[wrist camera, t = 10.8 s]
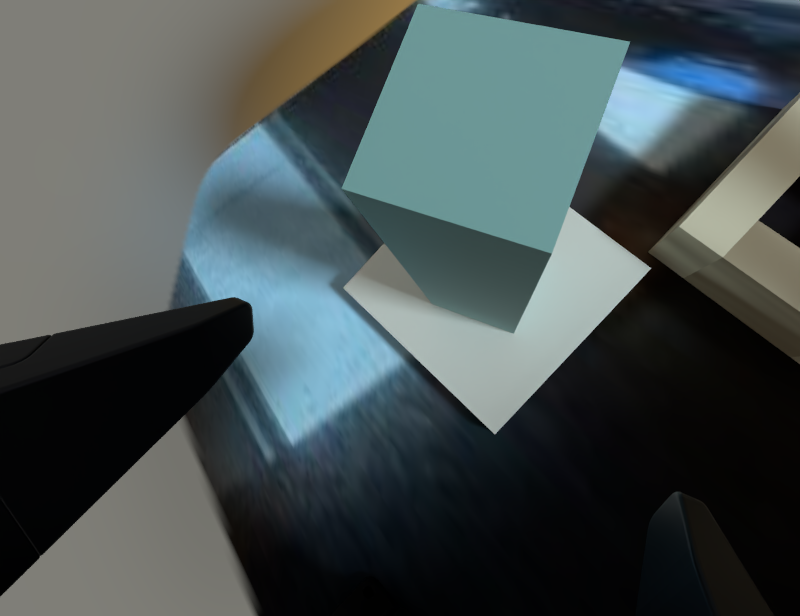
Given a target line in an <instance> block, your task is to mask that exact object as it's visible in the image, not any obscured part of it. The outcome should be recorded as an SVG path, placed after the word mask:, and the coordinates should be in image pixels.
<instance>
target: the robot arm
mask: <svg viewBox="0 0 800 616" xmlns="http://www.w3.org/2000/svg"><path fill="white" fill-rule="evenodd" d="M253 333H254V327H253V313H252V307H251V305H250V304H249V303H248V302H246V301H243V300H241V299H239V298H235V297H232V298H227V299H222V300H217V301H212V302H208V303H203V304H198V305H193V306H188V307H183V308H178V309H173V310H169V311H164V312H159V313H154V314H149V315H144V316H139V317H135V318H129V319H125V320H120V321H115V322H110V323H105V324H100V325H95V326H90V327H85V328H81V329H76V330H71V331H66V332H61V333H56V334H53V335H52V336H51V335H46V336H41V337H36V338H32V339H27V340H22V341H16V342H12V343H6V344H1V345H0V596H1V595H2V594H3V593H4V592H5V591H6V590H7V589H8V588H9V587H10V586H11V585H13V584H14V583H15V582H16V580H18V579H19V578H20V577H21V576H22V575H23V574H24V573H25V572H26V571H27V569H29V568H30V567H31V566H32V565H33V564H34V563H35V562H36V561H37V560H38V559H39V557H40V556H41V555H43V553H45V552H46V551H47V550H48V549H49V548H50V547H51V546H52V545H53V544H54V543H55V542H56V541H57V540H58V539H59V538H60V537H61V536H62V535H63V534H64V533H65V532H66V531H67V530H68V529H69V528H70V527H71V526H72V525H73V524H74V523H75V522H76V521H77V520H78V519H79V518H80V517H81V516H82V515H83V514H84V513H85V512H86V511H87V510H88V509H89V508H90V507H91V506H92V505H93V504H94V503H95V502H96V501H97V500H98V499H99V498H100V497H102V495H104V494H105V492H107V491H108V490H109V489H110V488H111V487H112V486H113V485H114V484H115V483H116V482H117V481H118V480H119V479H120V478H121V477H122V476H123V475H124V474H125V473H126V472H127V471H128V470H129V469H130V468H131V467H132V466H133V465H134V464H135V463H136V462H137V461H138V460H139V459H140V458H141V457H142V456H143V455H144V454H145V453H146V452H147V451H148V450H149V449H150V448H151V447H152V446H153V445H154V444H155V443H156V442H157V441H158V440H159V439H160V438H161V437H163V436H164V435H165V434H166V432H168V431H169V429H171V428H172V427H173V426H174V425H175V424H176V423H177V422H178V421H179V420H180V419H181V418H182V417H183V416H184V415H185V414H186V413H187V412H188V411H189V410H190V409H191V408H192V407H193V406H194V405H195V404H196V403H197V402H198V401H199V400H200V399H201V398H202V397H203V396H204V395H205V394H206V393H207V392H208V391H209V390H210V389H211V387H212V386H213V385H214V384H215V383H216V382H217V381H218V379H219V378H220V377H221V376H222V375H223V373H224V372H225V371H226V370H227V369H228V367H229V366H230V365H231V364H232V363H233V361H234V360H235V359H236V358H237V357H238V355H239V354H240V353H241V352H242V351H243V349H244V348H245V347H246V346H247V345H248V343H249V342H250V341H251V339H252V336H253ZM367 586H368V587H371V588H372V589H373V591H374V594H368V593H367V592H366V590H365V587H367ZM330 616H412V614H411V613H410V612H409V611H408V610H407V609H405V608H400V606H399V605H398V604H397V603H396V602H395V600H394V599H393V598H392V597H391V596H390V594H389V593H388V592H387V591H386V590H385V589H384V587H383V586H382V585H381V584H380V583H379V581H378V580H376V579H375V578H373V577H366V578H365V579H364V580H363V581H362V582H361V583H360V584H359V585H358V586H357V587H356V588H355V589H354V590H353V591H352V592H351V593H350V594H349V595H348V596H347V598H346V599H345V600H344V601H343V602H342V603H341V604H340V605H339V606H338V607H337V608H336V609H335V610H334V611H333V612H332V613H331V614H330ZM635 616H775V615H774V614H773V612H772V611H771V609H770V607H769V606H768V604H767V603H766V601H765V599H764V598H763V596H762V595H761V593H760V591H759V590H758V588H757V586H756V585H755V583H754V582H753V580H752V578H751V577H750V575H749V574H748V572H747V570H746V569H745V567H744V566H743V564H742V562H741V561H740V559H739V557H738V556H737V554H736V553H735V551H734V549H733V548H732V546H731V545H730V543H729V541H728V540H727V538H726V537H725V535H724V533H723V532H722V530H721V529H720V527H719V525H718V524H717V522H716V520H715V519H714V517H713V516H712V514H711V512H710V511H709V509H708V508H707V506H706V505H705V504H704V503H703V502H702V501H700V500H698V499H696V498H693V497H691V496H689V495H687V494H684V493H682V492H674V493H673V494H672V495H671V496H670V497H669V498H668V499H667V500H666V501H665V502H664V503H663V505H662V506H661V507H660V508H659V509H658V510H657V511H656V513H655V514H654V515H653V516H652V518H651V520H650V523H649V526H648V531H647V538H646V545H645V551H644V558H643V565H642V571H641V578H640V585H639V591H638V598H637V606H636V614H635Z"/></svg>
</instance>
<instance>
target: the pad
mask: <svg viewBox="0 0 800 616" xmlns="http://www.w3.org/2000/svg"><path fill="white" fill-rule="evenodd" d="M650 269H651V268H650V267H649V266H648V265H646V264H645V263H644V262H642V261H641V260H640V259H638V258H637V257H635V256H634V255H633V254H631V253H630V252H629V251H627V250H626V249H625V248H623V247H622V246H621V245H619V244H618V243H617V242H615V241H614V240H613V239H611V238H610V237H609V236H607V235H606V234H605V233H603V232H602V231H601V230H599V229H598V228H597V227H595V226H594V225H593V224H591V223H590V222H589V221H587V220H586V219H585V218H583V217H582V216H581V215H579V214H578V213H577V212H575V211H574V210H573V209H571V208H570V207H569V209H568V211H567V214H566V217H565V220H564V222H563V225H562V228H561V230H560V233H559V236H558V239H557V241H556V244H555V247H554V249H553V252H552V255H551V257H550V259H549V261H548V263H547V265H546V267H545V269H544V271H543V273H542V276H541V278H540V280H539V282H538V284H537V286H536V288H535V290H534V292H533V294H532V297H531V299H530V301H529V303H528V305H527V307H526V309H525V311H524V313H523V315H522V317H521V320H520V322H519V324H518V326H517V328H516V330H515V332H514V334H513V333H511V332H508V331H505V330H502V329H500V328H497V327H494V326H491V325H489V324H486V323H483V322H480V321H478V320H475V319H472V318H469V317H466V316H464V315H461V314H458V313H455V312H453V311H450V310H447V309H444V308H442V307H439V306H436V305H433V304H432V303H431V302H430V301H429V299H428V298H427V297H426V296H425V294H424V293H423V292H422V290H421V289H420V288H419V287H418V285H417V284H416V283H415V282H414V280H413V279H412V278H411V276H410V275H409V274H408V273H407V271H406V270H405V269H404V268H403V266H402V265H401V264H400V262H399V261H398V260H397V259H396V257H395V256H394V255H393V254H392V252H391V251H390V250H389V248H388V247H387V246H386V245H385V243H384V244H383V245H382V246H381V247H380V248H379V249H378V250H377V251H376V252H375V254H374V255H373V256H372V257H371V258H370V259H369V260H368V261H367V262H366V263H365V264H364V266H363V267H362V268H361V269H360V270H359V271H358V272H357V273H356V274H355V275H354V276H353V277H352V279H351V280H350V281H349V282H348V283H347V284H346V285H345V286H344V287H343V288H344V289H345V290H346V291H347V292H348V293H349V294H350V295H351V296H352V297H353V298H354V299H355V300H356V301H357V302H358V303H359V304H360V305H361V306H362V307H363V308H364V309H365V310H366V311H368V312H369V313H370V314H371V315H372V316H373V317H374V318H375V319H376V320H377V321H378V322H379V323H380V324H381V325H382V326H383V327H384V328H385V329H386V330H387V331H388V332H389V333H390V334H391V335H392V336H393V337H394V338H395V339H396V340H398V341H399V342H400V343H401V344H402V345H403V346H404V347H405V348H406V349H407V350H408V351H409V352H410V353H411V354H412V355H413V356H414V357H415V358H416V359H417V360H418V361H419V362H420V363H421V364H422V365H423V366H424V367H425V368H426V369H427V370H429V371H430V372H431V373H432V374H433V375H434V376H435V377H436V378H437V379H438V380H439V381H440V382H441V383H442V384H443V385H444V386H445V387H446V388H447V389H448V390H449V391H450V392H451V393H452V394H453V395H454V396H455V397H456V398H457V399H459V400H460V401H461V402H462V403H463V404H464V405H465V406H466V407H467V408H468V409H469V410H470V411H471V412H472V413H473V414H474V415H475V416H476V417H477V418H478V419H479V420H480V421H481V422H482V423H483V424H484V425H485V426H486V427H487V428H489V429H490V430H491V431H492V432H493V433H494V434H496V433H497V432H498V431H499V430H500V428H501V427H502V426H503V425H504V424H505V423H506V422H507V421H508V420H509V419H510V418H511V417H512V416H513V415H514V414H515V413H516V411H517V410H518V409H519V408H520V407H521V406H522V405H523V404H524V403H525V402H526V401H527V400H528V399H529V398H530V397H531V396H532V394H533V393H534V392H535V391H536V390H537V389H538V388H539V387H540V386H541V385H542V384H543V383H544V382H545V381H546V380H547V379H548V377H549V376H550V375H551V374H552V373H553V372H554V371H555V370H556V369H557V368H558V367H559V366H560V365H561V364H562V363H563V362H564V360H565V359H566V358H567V357H568V356H569V355H570V354H571V353H572V352H573V351H574V350H575V349H576V348H577V347H578V346H579V345H580V344H581V342H582V341H583V340H584V339H585V338H586V337H587V336H588V335H589V334H590V333H591V332H592V331H593V330H594V329H595V328H596V327H597V325H598V324H599V323H600V322H601V321H602V320H603V319H604V318H605V317H606V316H607V315H608V314H609V313H610V312H611V311H612V310H613V308H614V307H615V306H616V305H617V304H618V303H619V302H620V301H621V300H622V299H623V298H624V297H625V296H626V295H627V294H628V293H629V291H630V290H631V289H632V288H633V287H634V286H635V285H636V284H637V283H638V282H639V281H640V280H641V279H642V278H643V277H644V276H645V274H646V273H647V272H648V271H649V270H650Z"/></svg>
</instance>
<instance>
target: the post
mask: <svg viewBox="0 0 800 616" xmlns="http://www.w3.org/2000/svg"><path fill="white" fill-rule="evenodd" d="M629 43H630V42H628V41H622V40H617V39H611V38H606V37H600V36H594V35H589V34H583V33H578V32H572V31H567V30H561V29H556V28H550V27H544V26H539V25H533V24H528V23H522V22H517V21H511V20H506V19H500V18H495V17H489V16H483V15H478V14H472V13H467V12H461V11H456V10H450V9H445V8H439V7H433V6H428V5H422V4H418V5H417V8H416V10H415V13H414V15H413V18H412V20H411V22H410V25H409V27H408V30H407V32H406V34H405V37H404V39H403V42H402V44H401V47H400V49H399V51H398V54H397V56H396V59H395V61H394V63H393V66H392V68H391V71H390V73H389V76H388V78H387V80H386V83H385V85H384V88H383V90H382V92H381V95H380V97H379V100H378V102H377V105H376V107H375V109H374V112H373V114H372V117H371V119H370V121H369V124H368V126H367V129H366V131H365V134H364V136H363V138H362V141H361V143H360V146H359V148H358V150H357V153H356V155H355V158H354V160H353V163H352V165H351V167H350V170H349V172H348V175H347V177H346V179H345V182H344V184H343V187H342V190H343V191H344V192H345V194H346V195H347V196H348V198H349V199H350V200H351V201H352V203H353V204H354V205H355V206H356V208H357V209H358V210H359V212H360V213H361V214H362V215H363V217H364V218H365V219H366V220H367V222H368V223H369V224H370V226H371V227H372V228H373V229H374V231H375V232H376V233H377V234H378V236H379V237H380V238H381V240H382V241H383V242H384V243H385V245H386V246H387V247H388V248H389V250H390V251H391V252H392V254H393V255H394V256H395V257H396V259H397V260H398V261H399V262H400V264H401V265H402V266H403V268H404V269H405V270H406V271H407V273H408V274H409V275H410V276H411V278H412V279H413V280H414V282H415V283H416V284H417V285H418V287H419V288H420V289H421V290H422V292H423V293H424V294H425V296H426V297H427V298H428V299H429V301H430V302H431V303H432V304H433V305H436V306H439V307H442V308H444V309H447V310H450V311H453V312H455V313H458V314H461V315H464V316H466V317H469V318H472V319H475V320H478V321H480V322H483V323H486V324H489V325H491V326H494V327H497V328H500V329H502V330H505V331H508V332H511V333H513V334H514V332H515V330H516V328H517V326H518V324H519V322H520V320H521V317H522V315H523V313H524V311H525V309H526V307H527V305H528V303H529V301H530V299H531V297H532V294H533V292H534V290H535V288H536V286H537V284H538V282H539V280H540V278H541V276H542V273H543V271H544V269H545V267H546V265H547V263H548V261H549V259H550V257H551V255H552V252H553V249H554V247H555V244H556V241H557V239H558V236H559V233H560V230H561V228H562V225H563V222H564V220H565V217H566V214H567V211H568V209H569V206H570V203H571V201H572V198H573V195H574V193H575V190H576V187H577V184H578V182H579V179H580V176H581V174H582V171H583V168H584V165H585V163H586V160H587V157H588V155H589V152H590V149H591V146H592V144H593V141H594V138H595V136H596V133H597V130H598V127H599V125H600V122H601V119H602V117H603V114H604V111H605V108H606V106H607V103H608V100H609V98H610V95H611V92H612V89H613V87H614V84H615V81H616V79H617V76H618V73H619V71H620V68H621V65H622V62H623V60H624V57H625V54H626V52H627V49H628V46H629Z"/></svg>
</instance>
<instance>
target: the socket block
mask: <svg viewBox="0 0 800 616" xmlns="http://www.w3.org/2000/svg"><path fill="white" fill-rule="evenodd" d="M799 176H800V93H799V94H798V95H797V96H796V97H795V98H794V99H793V100H792V101H790V102H789V103H788V104H787V105H786V106H785V107H784V108H783V109H782V110H781V111H780V112H779V113H778V114H777V115H776V116H775V117H774V119H773V120H772V121H771V122H770V123H769V124H768V125H767V126H766V127H765V128H764V129H763V130H762V131H761V132H760V133H759V134H758V136H757V137H756V138H755V139H754V140H753V141H752V142H751V143H750V144H749V145H748V146H747V147H746V148H745V149H744V150H743V151H742V153H741V154H740V155H739V156H738V157H737V158H736V159H735V160H734V161H733V162H732V163H731V164H730V165H729V166H728V167H727V168H726V170H725V171H724V172H723V173H722V174H721V175H720V176H719V177H718V178H717V179H716V180H715V181H714V182H713V183H712V184H711V186H710V187H709V188H708V189H707V190H706V191H705V192H704V193H703V194H702V195H701V196H700V197H699V198H698V199H697V200H696V201H695V203H694V204H693V205H692V206H691V207H690V208H689V209H688V210H687V211H686V212H685V213H684V214H683V215H682V216H681V217H680V218H679V220H678V221H677V222H676V223H675V224H674V225H673V226H672V227H671V228H670V229H669V230H668V231H667V232H666V233H665V234H664V235H663V237H662V238H661V239H660V240H659V241H658V242H657V243H656V244H655V245H654V246H653V247H652V248H651V249H650V250H649V251H648V252H649V253H650V254H651V255H653V256H654V257H655V258H657V259H658V260H659V261H661V262H662V263H663V264H665V265H666V266H667V267H669V268H670V269H672V270H673V271H674V272H676V273H677V274H678V275H680V276H681V277H682V278H684V279H685V280H686V281H688V282H689V283H690V284H692V285H693V286H695V287H696V288H697V289H699V290H700V291H701V292H703V293H704V294H705V295H707V296H708V297H709V298H711V299H712V300H714V301H715V302H716V303H718V304H719V305H720V306H722V307H723V308H724V309H726V310H727V311H728V312H730V313H731V314H732V315H734V316H735V317H737V318H738V319H739V320H741V321H742V322H743V323H745V324H746V325H747V326H749V327H750V328H751V329H753V330H754V331H756V332H757V333H758V334H760V335H761V336H762V337H764V338H765V339H766V340H768V341H769V342H770V343H772V344H773V345H774V346H776V347H777V348H779V349H780V350H781V351H783V352H784V353H785V354H787V355H788V356H789V357H791V358H792V359H793V360H795V361H796V362H798V363H799V364H800V248H799V247H797V246H796V245H794V244H793V243H791V242H790V241H788V240H787V239H785V238H784V237H782V236H781V235H779V234H778V233H776V232H775V231H773V230H772V229H770V228H769V227H767V226H766V225H764V224H763V223H761V222H760V221H758V220H759V219H760V218H761V217H762V215H763V214H764V213H765V212H766V211H767V210H768V209H769V208H770V207H771V206H772V205H773V204H774V203H775V202H776V201H777V200H778V199H779V197H780V196H781V195H782V194H783V193H784V192H785V191H786V190H787V189H788V188H789V187H790V186H791V185H792V184H793V183H794V182H795V181H796V180H797V178H798V177H799Z"/></svg>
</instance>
